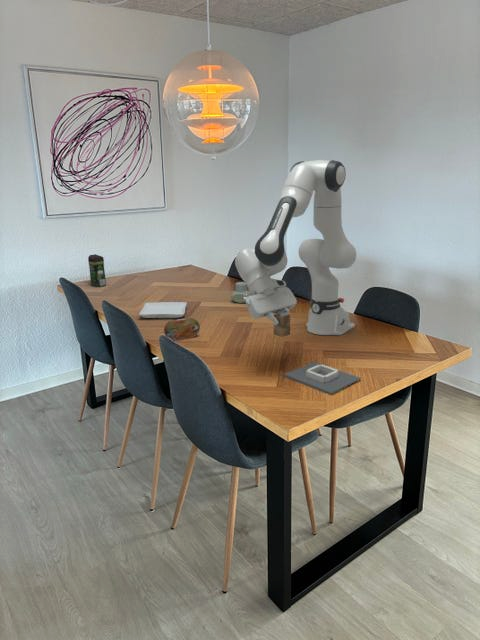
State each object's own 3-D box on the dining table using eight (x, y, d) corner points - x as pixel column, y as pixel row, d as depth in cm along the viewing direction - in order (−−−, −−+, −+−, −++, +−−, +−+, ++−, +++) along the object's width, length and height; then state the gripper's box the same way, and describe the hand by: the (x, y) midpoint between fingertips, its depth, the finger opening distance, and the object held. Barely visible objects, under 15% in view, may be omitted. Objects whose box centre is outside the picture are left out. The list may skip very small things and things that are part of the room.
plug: (281, 331, 176) (281, 310, 174) (290, 334, 173) (290, 312, 171) (273, 334, 173) (273, 312, 171) (282, 337, 171) (282, 315, 168)
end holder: (314, 363, 181) (314, 356, 180) (360, 380, 167) (361, 372, 166) (284, 376, 170) (284, 368, 170) (331, 395, 156) (331, 387, 155)
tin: (166, 342, 204) (164, 322, 202) (163, 340, 207) (162, 320, 204) (200, 336, 210) (199, 317, 208) (197, 334, 213) (196, 315, 210)
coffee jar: (89, 285, 301) (85, 254, 295) (101, 283, 306) (98, 253, 300) (95, 288, 294) (92, 256, 288) (108, 285, 299) (105, 255, 293)
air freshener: (229, 303, 259) (228, 284, 256) (233, 299, 266) (232, 280, 263) (249, 304, 256) (249, 285, 253) (253, 300, 264) (253, 281, 261)
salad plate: (187, 307, 253) (187, 301, 252) (184, 320, 233) (184, 313, 232) (145, 308, 253) (145, 302, 252) (139, 321, 232) (138, 314, 231)
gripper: (246, 290, 167) (266, 324, 163) (287, 280, 180) (307, 311, 176) (237, 300, 171) (257, 334, 167) (278, 289, 184) (297, 320, 180)
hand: (283, 322), depth 171 cm, fingers closed on plug, 4 cm apart
